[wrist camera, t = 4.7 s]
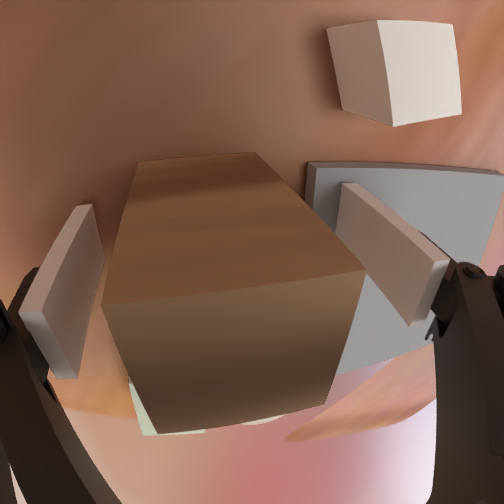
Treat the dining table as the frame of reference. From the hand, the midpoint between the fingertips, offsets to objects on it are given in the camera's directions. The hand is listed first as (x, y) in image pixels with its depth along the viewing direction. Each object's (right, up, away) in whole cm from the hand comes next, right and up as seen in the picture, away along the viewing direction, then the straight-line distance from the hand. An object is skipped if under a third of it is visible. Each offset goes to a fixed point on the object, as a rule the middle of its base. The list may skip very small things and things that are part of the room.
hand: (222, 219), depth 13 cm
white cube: (+7, +7, -1) cm, 10 cm away
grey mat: (+11, -3, +7) cm, 14 cm away
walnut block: (-1, 0, +1) cm, 1 cm away
